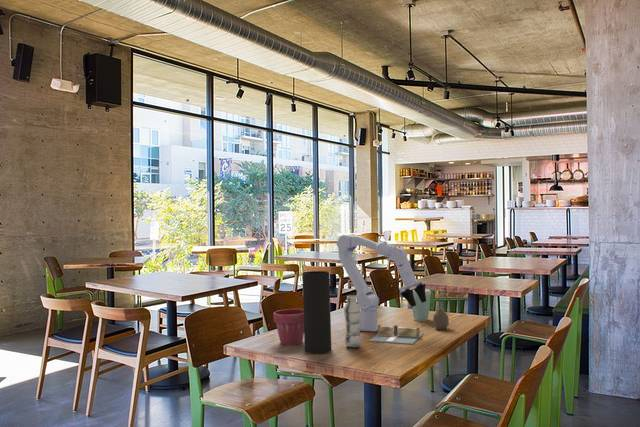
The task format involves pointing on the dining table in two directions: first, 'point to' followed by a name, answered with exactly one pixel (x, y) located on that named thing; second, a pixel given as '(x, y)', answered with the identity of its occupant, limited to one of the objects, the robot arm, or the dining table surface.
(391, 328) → the fence fixed
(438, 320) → the vase
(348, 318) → the plastic bottle
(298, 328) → the plant pot
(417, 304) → the disposable coffee cup
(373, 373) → the dining table surface
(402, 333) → the fence panel
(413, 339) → the card
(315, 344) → the vase
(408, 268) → the robot arm
